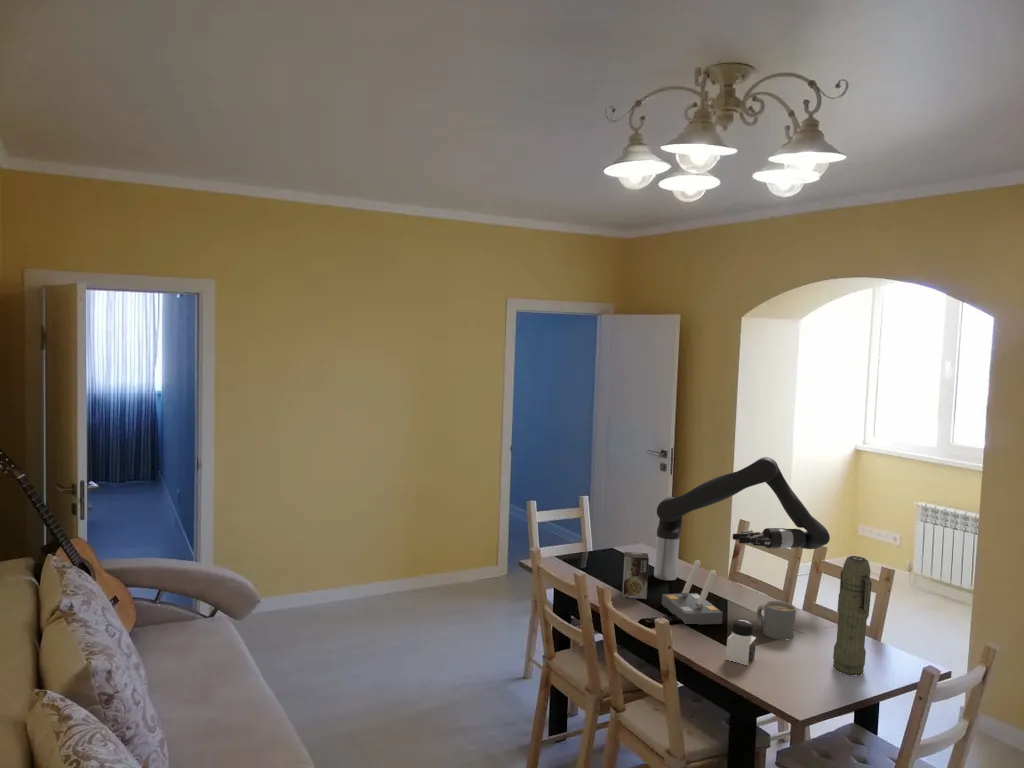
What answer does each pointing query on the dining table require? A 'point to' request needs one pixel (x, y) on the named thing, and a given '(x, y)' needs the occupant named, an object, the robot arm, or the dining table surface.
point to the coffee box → (635, 575)
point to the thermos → (852, 616)
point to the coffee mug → (777, 619)
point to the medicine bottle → (741, 643)
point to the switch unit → (691, 609)
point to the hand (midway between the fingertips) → (736, 538)
